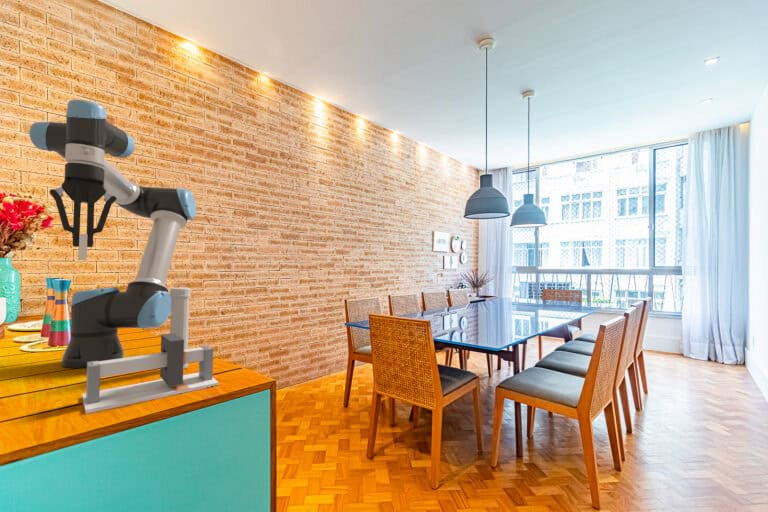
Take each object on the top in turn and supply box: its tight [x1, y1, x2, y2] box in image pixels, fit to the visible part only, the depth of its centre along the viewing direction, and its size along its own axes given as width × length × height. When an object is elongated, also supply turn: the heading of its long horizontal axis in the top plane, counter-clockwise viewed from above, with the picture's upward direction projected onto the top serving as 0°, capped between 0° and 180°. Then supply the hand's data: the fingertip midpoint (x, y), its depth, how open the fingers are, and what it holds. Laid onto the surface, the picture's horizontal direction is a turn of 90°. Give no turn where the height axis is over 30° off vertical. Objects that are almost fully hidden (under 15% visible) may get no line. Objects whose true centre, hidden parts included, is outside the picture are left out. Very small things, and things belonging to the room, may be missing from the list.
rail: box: [81, 345, 220, 415], centre depth 89 cm, size 12×27×9 cm, turn 133°
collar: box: [159, 333, 184, 386], centre depth 92 cm, size 10×3×11 cm, turn 43°
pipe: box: [169, 268, 191, 370], centre depth 108 cm, size 6×6×30 cm
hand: (82, 260), depth 88 cm, fingers closed
